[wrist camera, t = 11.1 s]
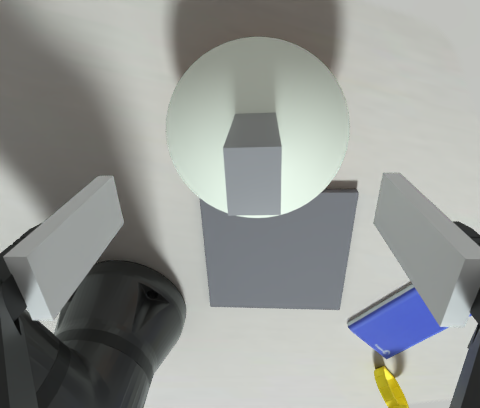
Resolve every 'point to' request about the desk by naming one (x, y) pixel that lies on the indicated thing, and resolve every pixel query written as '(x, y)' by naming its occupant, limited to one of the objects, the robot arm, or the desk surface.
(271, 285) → the mat
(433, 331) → the hard drive
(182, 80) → the lid
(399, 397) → the yellow curved ring
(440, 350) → the desk surface
